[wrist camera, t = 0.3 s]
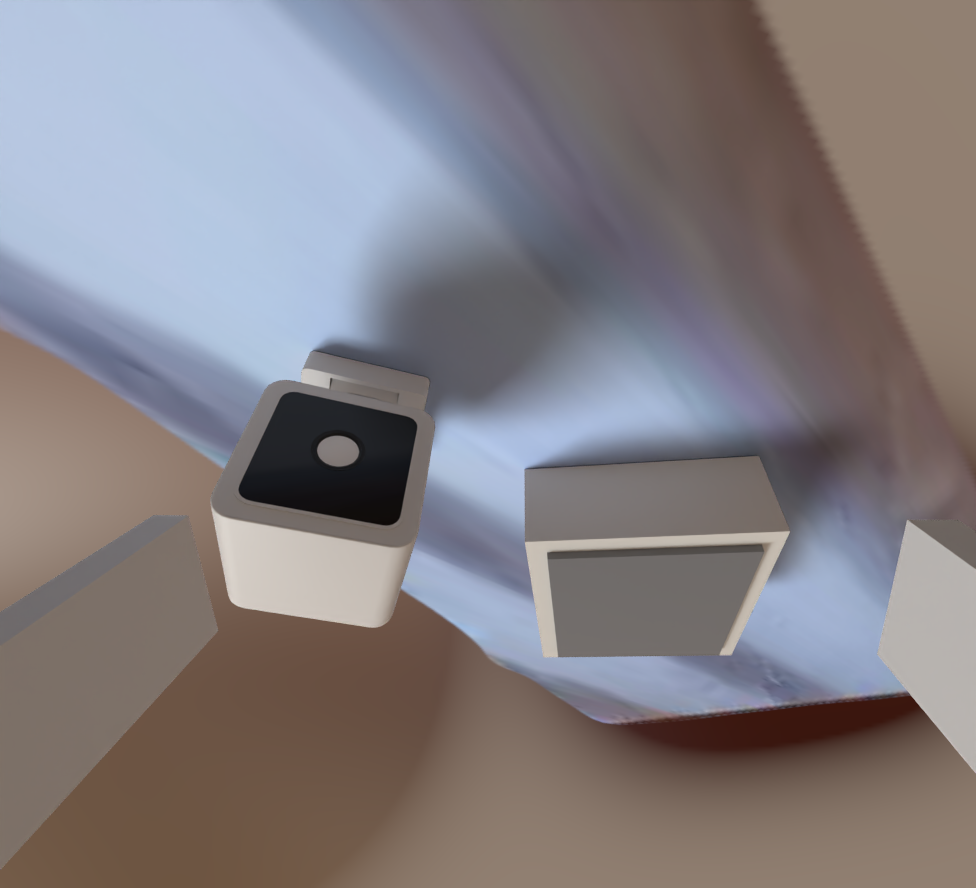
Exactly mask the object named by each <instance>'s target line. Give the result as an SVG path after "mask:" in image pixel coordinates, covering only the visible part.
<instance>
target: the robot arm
mask: <svg viewBox="0 0 976 888" xmlns="http://www.w3.org/2000/svg"><path fill="white" fill-rule="evenodd" d="M217 632H218V628H217V624H216V620H215V616H214V613H213V609H212V605H211V602H210V597H209V593H208V590H207V586H206V582H205V578H204V574H203V570H202V567H201V562H200V558H199V555H198V551H197V547H196V544H195V539H194V535H193V532H192V528H191V524H190V520H189V516H168V515H165V516H161V515H153V516H152V517H150V518H149V519H147V520H145V521H144V522H142V523H141V524H139V525H137V526H136V527H134V528H133V529H131V530H130V531H128V532H126V533H125V534H123V535H122V536H120V537H119V538H117V539H115V540H114V541H112V542H111V543H109V544H107V545H106V546H104V547H103V548H101V549H99V550H98V551H96V552H95V553H93V554H92V555H90V556H88V557H87V558H85V559H84V560H83V561H80V562H79V563H77V564H76V565H74V566H73V567H71V568H70V569H68V570H66V571H65V572H63V573H62V574H60V575H58V576H57V577H55V578H54V579H52V580H50V581H49V582H47V583H46V584H44V585H42V586H41V587H39V588H38V589H36V590H34V591H33V592H32V593H30V594H28V595H27V596H25V597H23V598H22V599H20V600H19V601H17V602H16V603H14V604H12V605H11V606H9V607H8V608H6V609H4V610H3V611H1V612H0V870H1V868H2V867H3V866H4V865H5V864H6V863H7V862H8V861H9V860H10V859H11V857H12V856H13V855H14V854H15V853H16V852H17V851H18V850H19V849H20V848H21V847H22V845H23V844H24V843H25V842H26V841H27V840H28V839H29V838H30V837H31V835H32V834H33V833H34V832H35V831H36V830H37V829H38V828H39V827H40V826H41V825H42V823H43V822H44V821H45V820H46V819H47V818H48V817H49V816H50V814H52V813H53V811H54V810H55V809H56V808H57V807H58V806H59V805H60V804H61V803H62V801H63V800H64V799H65V798H66V797H67V796H68V795H69V794H70V793H71V792H72V791H73V789H74V788H75V787H76V786H77V785H78V784H79V783H80V782H81V781H82V780H83V779H84V777H85V776H86V775H87V774H88V773H89V772H90V771H91V769H93V768H94V766H95V765H96V764H97V763H98V762H99V761H100V760H101V759H102V758H103V756H104V755H105V754H106V753H107V752H108V751H109V750H110V749H111V748H112V747H113V746H114V744H115V743H116V742H117V741H118V740H119V739H120V738H121V737H122V736H123V735H124V734H125V732H126V731H127V730H128V729H129V728H130V727H131V726H132V725H133V724H134V722H135V721H136V720H137V719H138V718H139V717H140V716H141V715H142V714H143V713H144V711H145V710H146V709H147V708H148V707H149V706H150V705H151V704H152V703H153V702H154V701H155V699H156V698H157V697H158V696H159V695H160V694H161V693H162V692H163V691H164V690H165V689H166V687H167V686H168V685H169V684H170V683H171V682H172V681H173V680H174V679H175V678H176V676H177V675H178V674H179V673H180V672H181V671H182V670H183V669H184V668H185V667H186V666H187V664H188V663H189V662H190V661H191V660H192V659H193V658H194V657H195V656H196V654H197V653H198V652H199V651H200V650H201V649H202V648H203V647H204V646H205V644H207V642H208V641H209V640H210V639H211V638H212V637H213V636H214V635H215V634H216V633H217ZM877 655H878V656H879V657H880V658H881V659H882V661H883V662H884V663H885V664H886V665H887V667H888V668H889V669H890V670H891V672H892V673H893V674H894V675H895V676H896V678H897V679H898V680H899V681H900V682H901V684H902V685H903V686H904V687H905V688H906V690H907V691H908V692H909V693H910V694H911V696H912V697H913V698H914V699H915V701H916V702H917V703H918V704H919V705H920V706H921V708H922V709H923V710H924V711H925V713H926V714H927V715H928V716H929V717H930V719H931V720H932V721H933V722H934V723H935V724H936V726H937V727H938V728H939V729H940V731H941V732H942V733H943V734H944V736H945V737H946V738H947V739H948V740H949V742H950V743H951V744H952V745H953V746H954V748H955V749H956V750H957V751H958V753H960V755H961V756H962V757H963V759H964V760H965V761H966V762H967V763H968V764H969V766H970V767H971V768H972V769H973V771H974V772H975V773H976V531H974V530H973V529H971V528H969V527H968V526H966V525H965V524H963V523H962V522H960V521H958V520H907V524H906V528H905V533H904V537H903V542H902V546H901V551H900V555H899V560H898V564H897V569H896V573H895V577H894V582H893V586H892V591H891V595H890V600H889V604H888V609H887V613H886V618H885V622H884V627H883V631H882V636H881V640H880V645H879V649H878V654H877Z"/></svg>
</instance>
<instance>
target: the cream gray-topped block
mask: <svg viewBox="0 0 976 888" xmlns="http://www.w3.org/2000/svg"><path fill="white" fill-rule="evenodd" d="M789 533H790V529H789V527H788V524H787V522H786V520H785V517H784V515H783V512H782V510H781V508H780V505H779V503H778V500H777V498H776V496H775V493H774V491H773V488H772V486H771V484H770V481H769V479H768V477H767V474H766V472H765V469H764V467H763V465H762V462H761V460H760V457H759V456H748V457H730V458H713V459H696V460H679V461H662V462H644V463H627V464H610V465H593V466H576V467H558V468H541V469H525V545H526V551H527V558H528V564H529V570H530V576H531V582H532V589H533V595H534V601H535V607H536V614H537V620H538V626H539V632H540V638H541V645H542V651H543V657H612V656H699V655H731V654H732V652H733V650H734V648H735V646H736V644H737V642H738V640H739V638H740V636H741V634H742V631H743V629H744V627H745V625H746V623H747V621H748V619H749V617H750V615H751V613H752V611H753V608H754V606H755V604H756V602H757V600H758V598H759V596H760V594H761V592H762V590H763V588H764V585H765V583H766V581H767V579H768V577H769V575H770V573H771V571H772V569H773V567H774V565H775V562H776V560H777V558H778V556H779V554H780V552H781V550H782V548H783V546H784V544H785V542H786V540H787V537H788V535H789Z"/></svg>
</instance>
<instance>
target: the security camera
mask: <svg viewBox="0 0 976 888" xmlns="http://www.w3.org/2000/svg"><path fill="white" fill-rule="evenodd" d="M429 384H430V381H429V379H428V378H426V377H423V376H419V375H415V374H410V373H406V372H402V371H398V370H393V369H389V368H385V367H381V366H376V365H372V364H368V363H364V362H359V361H355V360H351V359H346V358H342V357H338V356H334V355H329V354H325V353H321V352H317V351H312V352H310V354H309V356H308V358H307V360H306V363H305V365H304V367H303V369H302V372H301V382H296V381H291V380H280V381H276V382H273V383H272V384H270V385H268V387H267V388H266V389H265V390H264V392H263V394H262V396H261V398H260V400H259V402H258V404H257V406H256V408H255V410H254V412H253V414H252V416H251V418H250V420H249V422H248V424H247V426H246V428H245V430H244V432H243V433H242V435H241V437H240V439H239V441H238V443H237V445H236V447H235V449H234V451H233V453H232V455H231V457H230V459H229V461H228V463H227V465H226V467H225V469H224V471H223V473H222V475H221V477H220V479H219V481H218V483H217V485H216V486H215V488H214V490H213V492H212V495H211V499H210V502H211V508H212V513H213V518H214V524H215V528H216V534H217V539H218V544H219V549H220V555H221V560H222V564H223V570H224V575H225V580H226V586H227V591H228V595H229V598H230V600H231V602H232V603H234V604H235V605H237V606H239V607H242V608H247V609H254V610H261V611H267V612H274V613H280V614H287V615H293V616H300V617H306V618H312V619H319V620H325V621H332V622H338V623H345V624H352V625H358V626H365V627H379V626H382V625H384V624H385V623H387V622H388V621H389V619H390V618H391V617H392V614H393V611H394V608H395V605H396V601H397V598H398V595H399V592H400V589H401V586H402V582H403V579H404V576H405V573H406V570H407V566H408V563H409V560H410V557H411V554H412V550H413V547H414V544H415V541H416V538H417V534H418V531H419V525H420V518H421V512H422V506H423V500H424V493H425V487H426V481H427V475H428V468H429V462H430V456H431V450H432V443H433V437H434V431H435V422H434V420H433V418H432V417H431V416H430V415H429V414H428V413H426V412H425V411H424V409H425V405H426V401H427V395H428V390H429Z"/></svg>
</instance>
